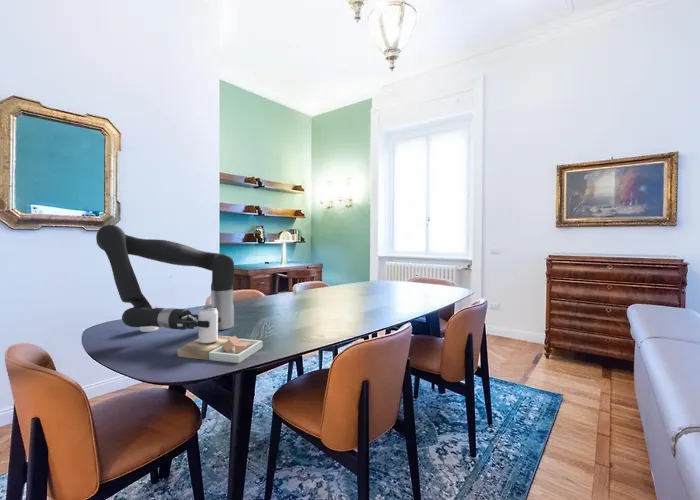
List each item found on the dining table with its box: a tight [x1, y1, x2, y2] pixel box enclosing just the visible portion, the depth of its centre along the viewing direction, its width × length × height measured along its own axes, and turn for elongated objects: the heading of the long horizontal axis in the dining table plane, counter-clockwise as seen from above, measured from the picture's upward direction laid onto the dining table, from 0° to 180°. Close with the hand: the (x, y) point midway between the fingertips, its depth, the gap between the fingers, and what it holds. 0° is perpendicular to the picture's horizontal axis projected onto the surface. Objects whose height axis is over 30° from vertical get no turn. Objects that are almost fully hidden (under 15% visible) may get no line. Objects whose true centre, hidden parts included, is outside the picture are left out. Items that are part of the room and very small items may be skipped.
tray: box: [208, 338, 263, 364], centre depth 121 cm, size 16×11×2 cm
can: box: [198, 305, 219, 343], centre depth 123 cm, size 6×6×12 cm
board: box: [177, 335, 233, 361], centre depth 123 cm, size 16×12×3 cm
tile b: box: [235, 342, 251, 354], centre depth 120 cm, size 4×4×3 cm
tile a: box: [222, 335, 240, 353], centre depth 121 cm, size 4×4×3 cm
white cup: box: [139, 305, 160, 333], centre depth 148 cm, size 8×8×10 cm
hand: (214, 322), depth 122 cm, fingers closed on can, 6 cm apart
